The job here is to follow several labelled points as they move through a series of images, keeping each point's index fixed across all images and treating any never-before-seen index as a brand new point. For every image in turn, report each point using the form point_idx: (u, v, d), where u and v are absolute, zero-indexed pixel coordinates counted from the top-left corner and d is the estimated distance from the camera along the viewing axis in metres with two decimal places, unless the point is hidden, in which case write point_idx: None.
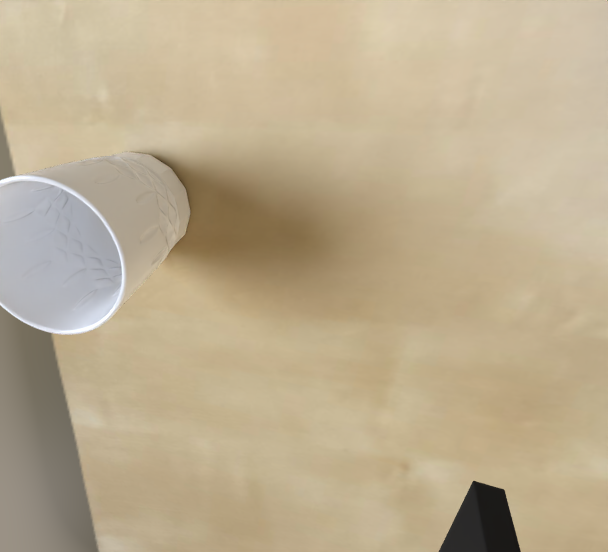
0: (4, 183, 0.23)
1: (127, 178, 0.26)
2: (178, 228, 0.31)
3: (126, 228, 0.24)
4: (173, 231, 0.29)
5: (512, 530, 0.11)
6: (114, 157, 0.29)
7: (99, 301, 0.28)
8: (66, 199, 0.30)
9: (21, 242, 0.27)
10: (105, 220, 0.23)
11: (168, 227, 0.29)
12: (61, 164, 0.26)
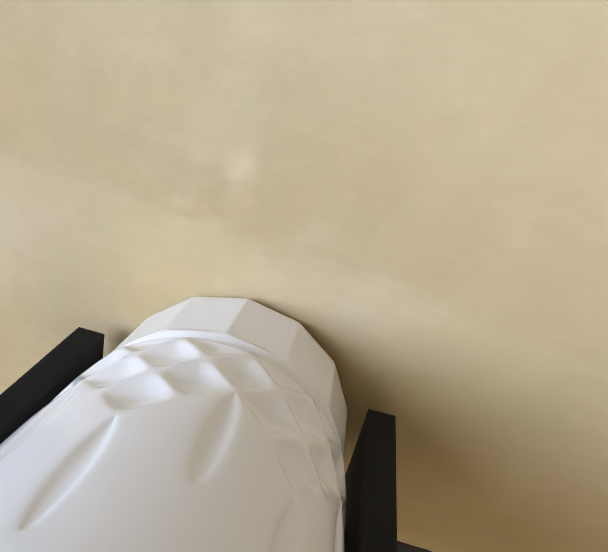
0: None
1: (310, 512, 0.09)
2: None
3: None
4: None
5: (394, 446, 0.13)
6: (248, 362, 0.11)
7: None
8: None
9: None
10: None
11: None
12: (131, 443, 0.08)
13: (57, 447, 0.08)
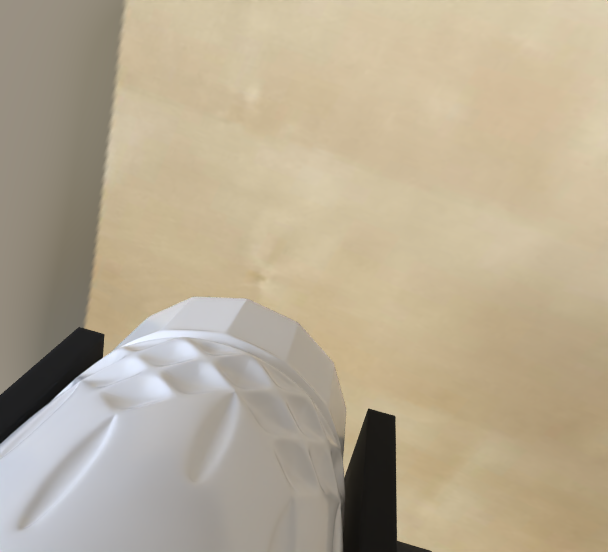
0: None
1: (309, 511, 0.09)
2: None
3: None
4: None
5: (394, 446, 0.13)
6: (248, 362, 0.11)
7: None
8: None
9: None
10: None
11: None
12: (130, 442, 0.08)
13: (56, 447, 0.08)
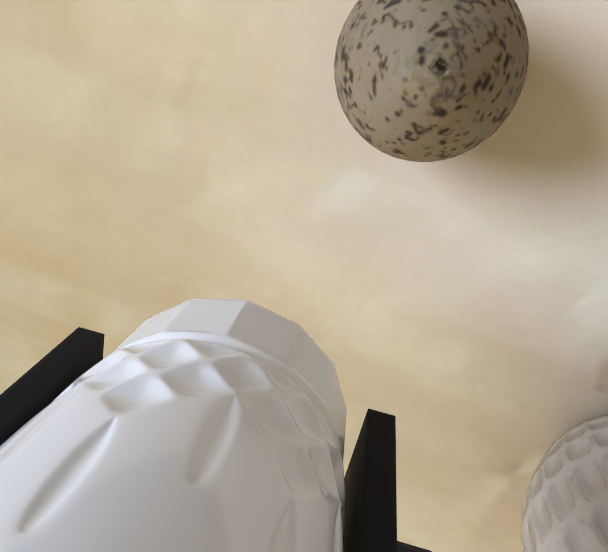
0: None
1: (309, 514, 0.09)
2: None
3: None
4: None
5: (394, 446, 0.13)
6: (248, 364, 0.11)
7: None
8: None
9: None
10: None
11: None
12: (130, 445, 0.08)
13: (56, 449, 0.08)
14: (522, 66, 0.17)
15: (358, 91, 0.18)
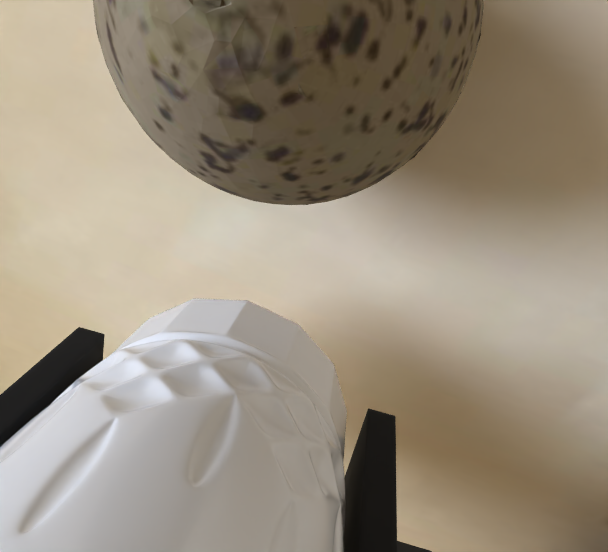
0: None
1: (309, 515, 0.09)
2: None
3: None
4: None
5: (393, 446, 0.13)
6: (248, 365, 0.11)
7: None
8: None
9: None
10: None
11: None
12: (130, 446, 0.08)
13: (57, 450, 0.08)
14: (463, 9, 0.08)
15: (108, 64, 0.08)
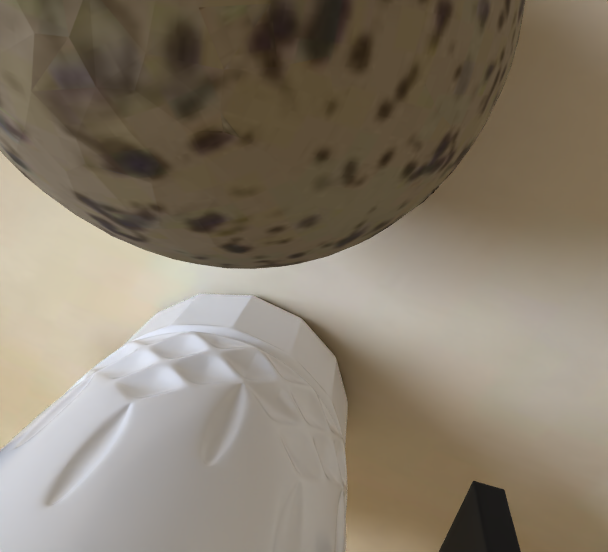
0: None
1: (314, 495, 0.09)
2: None
3: None
4: None
5: (512, 530, 0.11)
6: (254, 355, 0.11)
7: None
8: None
9: None
10: None
11: None
12: (146, 428, 0.08)
13: (77, 432, 0.08)
14: None
15: None
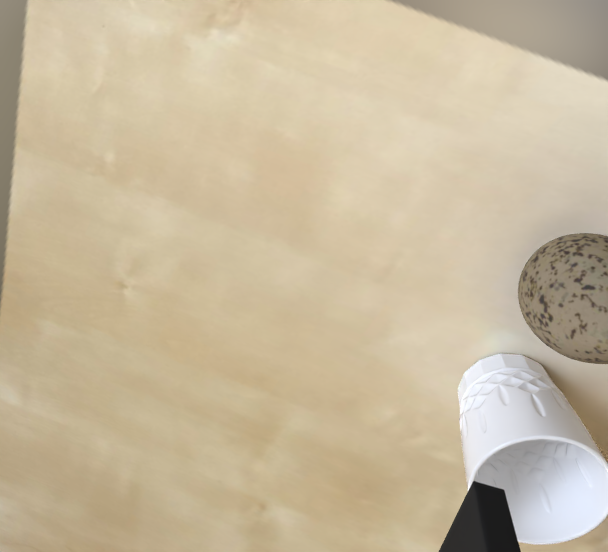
0: (553, 439, 0.28)
1: (582, 422, 0.32)
2: None
3: None
4: None
5: (512, 530, 0.11)
6: (544, 379, 0.34)
7: (509, 499, 0.33)
8: None
9: None
10: None
11: None
12: (544, 400, 0.31)
13: (526, 401, 0.31)
14: None
15: (555, 329, 0.28)
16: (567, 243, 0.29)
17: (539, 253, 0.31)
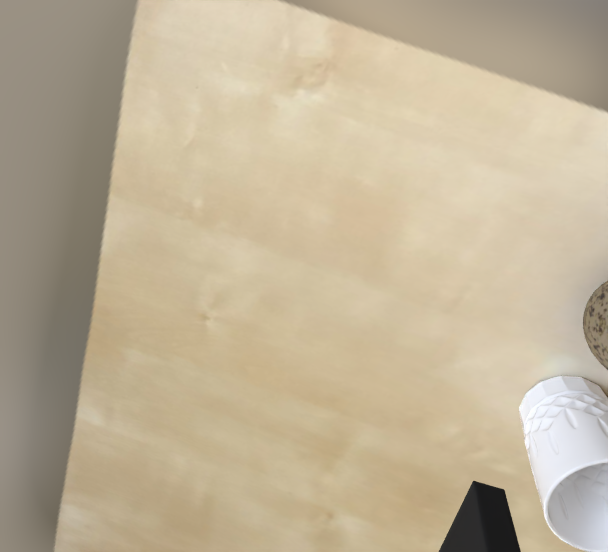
0: None
1: None
2: None
3: None
4: None
5: (512, 530, 0.11)
6: (605, 401, 0.37)
7: (576, 512, 0.36)
8: None
9: None
10: None
11: None
12: None
13: (594, 424, 0.34)
14: None
15: None
16: None
17: (605, 290, 0.33)
